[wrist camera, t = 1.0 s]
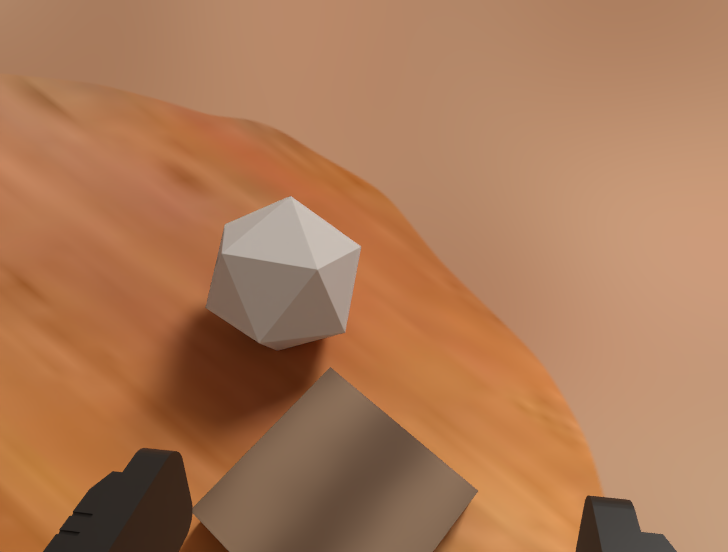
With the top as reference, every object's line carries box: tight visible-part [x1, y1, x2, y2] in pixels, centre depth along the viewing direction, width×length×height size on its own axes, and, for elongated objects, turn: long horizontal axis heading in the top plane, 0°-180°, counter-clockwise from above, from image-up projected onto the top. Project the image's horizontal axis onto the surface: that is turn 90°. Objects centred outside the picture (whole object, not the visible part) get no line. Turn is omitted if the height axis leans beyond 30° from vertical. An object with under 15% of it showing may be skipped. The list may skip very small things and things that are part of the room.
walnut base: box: [192, 367, 478, 552], centre depth 31 cm, size 10×10×3 cm
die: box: [206, 196, 361, 351], centre depth 35 cm, size 8×9×10 cm
